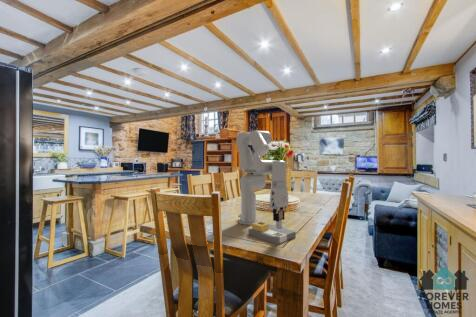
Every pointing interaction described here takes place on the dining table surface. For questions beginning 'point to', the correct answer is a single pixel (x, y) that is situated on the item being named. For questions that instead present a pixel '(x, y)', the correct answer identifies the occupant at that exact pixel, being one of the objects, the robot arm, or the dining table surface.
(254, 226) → the block
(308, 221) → the dining table surface
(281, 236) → the subfloor board
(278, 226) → the awl
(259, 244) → the dining table surface
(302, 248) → the dining table surface
